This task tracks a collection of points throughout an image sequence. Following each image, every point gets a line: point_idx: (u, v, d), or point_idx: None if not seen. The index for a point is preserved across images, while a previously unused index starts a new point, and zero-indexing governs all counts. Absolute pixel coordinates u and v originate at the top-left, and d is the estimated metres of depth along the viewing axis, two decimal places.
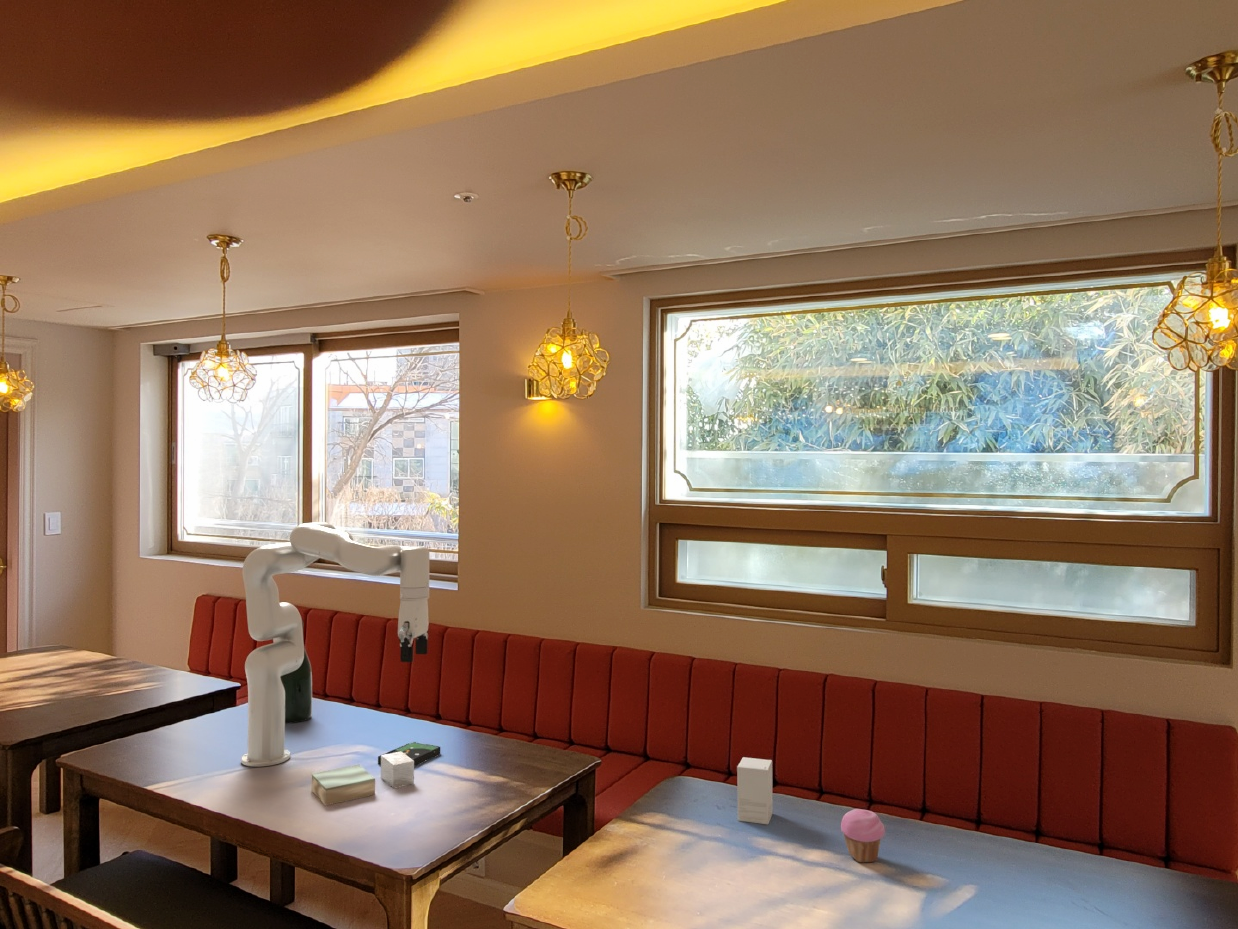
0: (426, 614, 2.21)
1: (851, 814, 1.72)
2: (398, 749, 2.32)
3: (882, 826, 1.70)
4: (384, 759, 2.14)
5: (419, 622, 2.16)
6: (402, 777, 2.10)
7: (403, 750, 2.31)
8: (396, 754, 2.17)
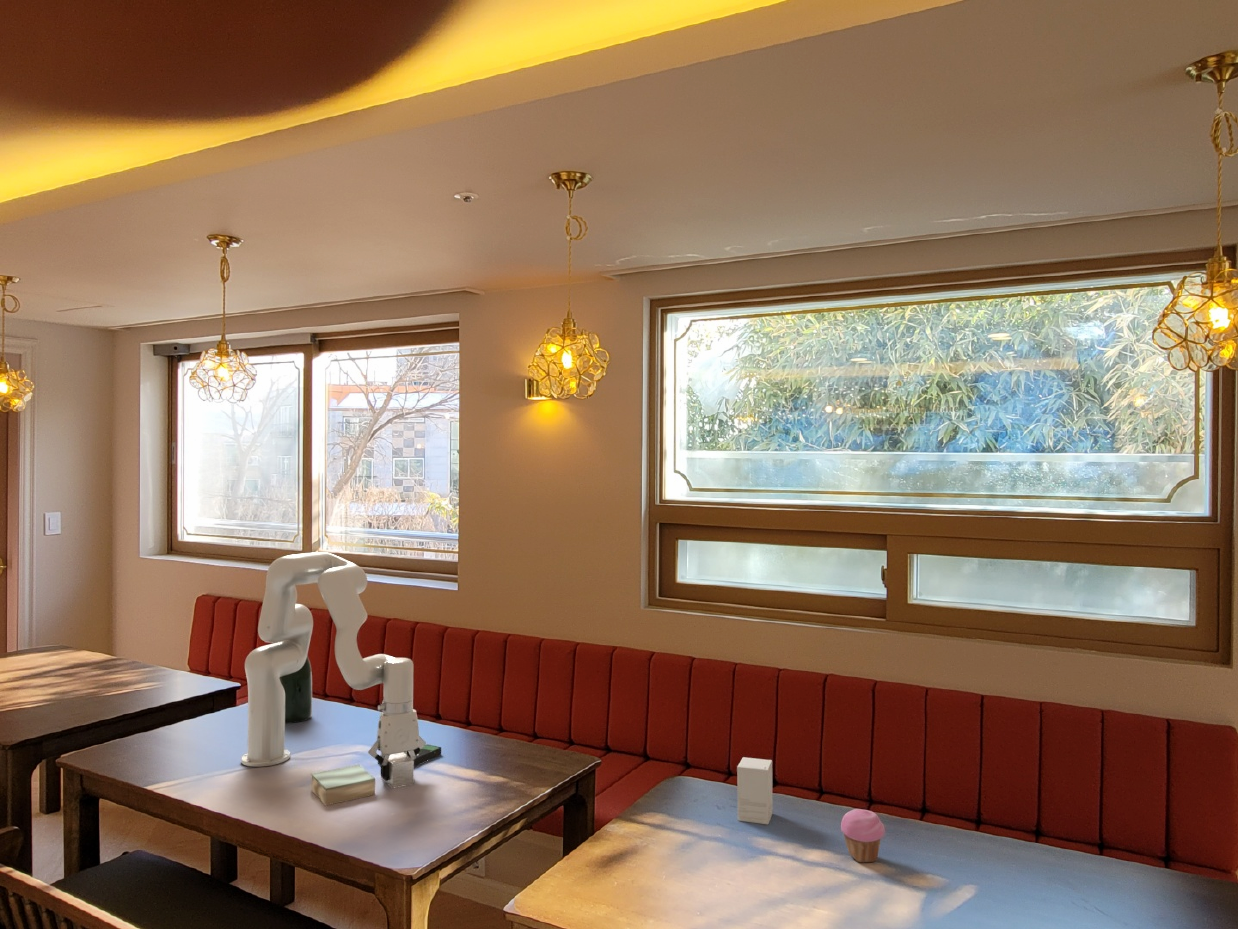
0: None
1: (851, 814, 1.72)
2: None
3: (882, 826, 1.70)
4: None
5: None
6: (401, 777, 2.10)
7: None
8: (396, 753, 2.17)
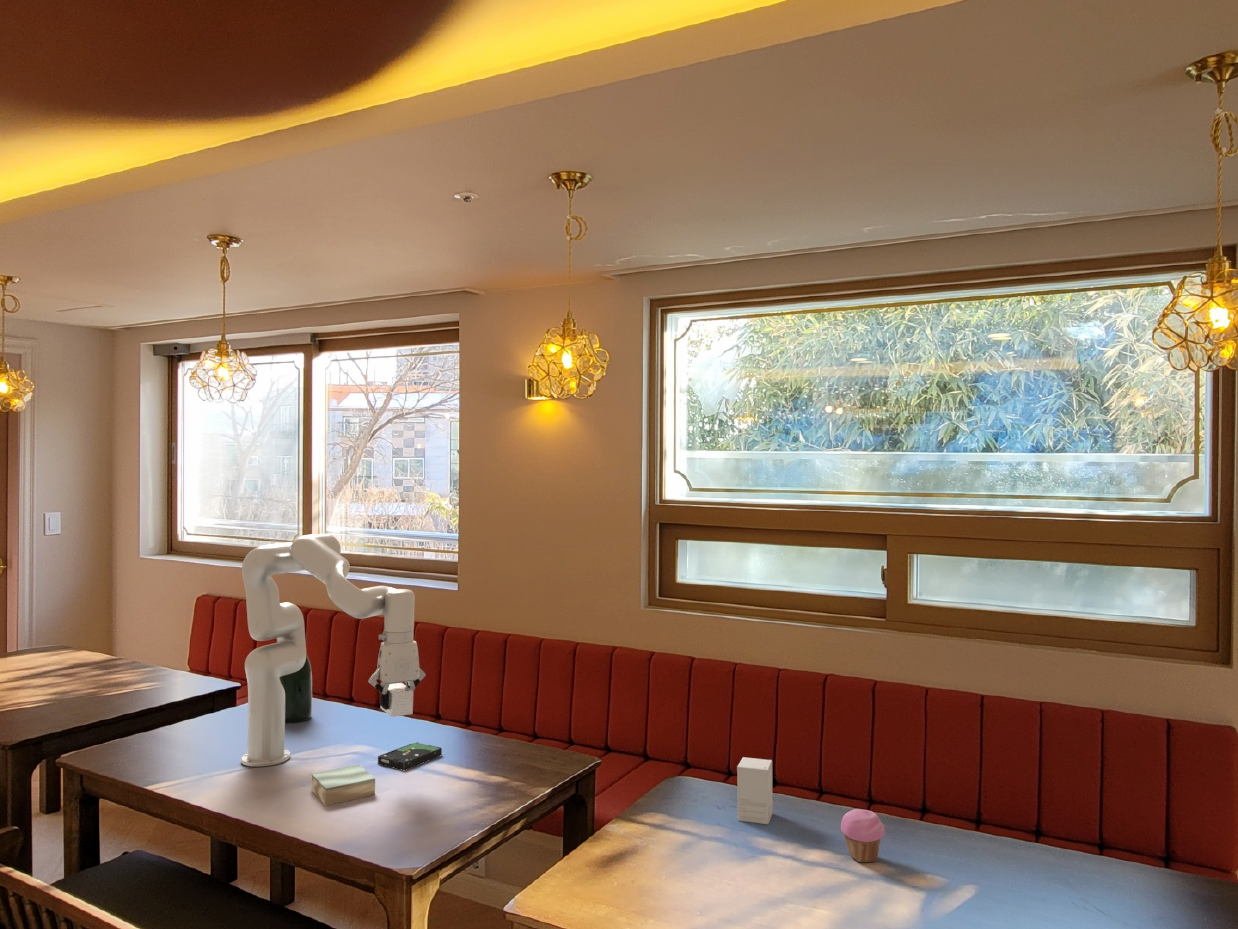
0: None
1: (851, 814, 1.72)
2: (399, 749, 2.32)
3: (882, 826, 1.70)
4: None
5: None
6: (401, 706, 2.11)
7: (404, 750, 2.31)
8: (396, 684, 2.18)
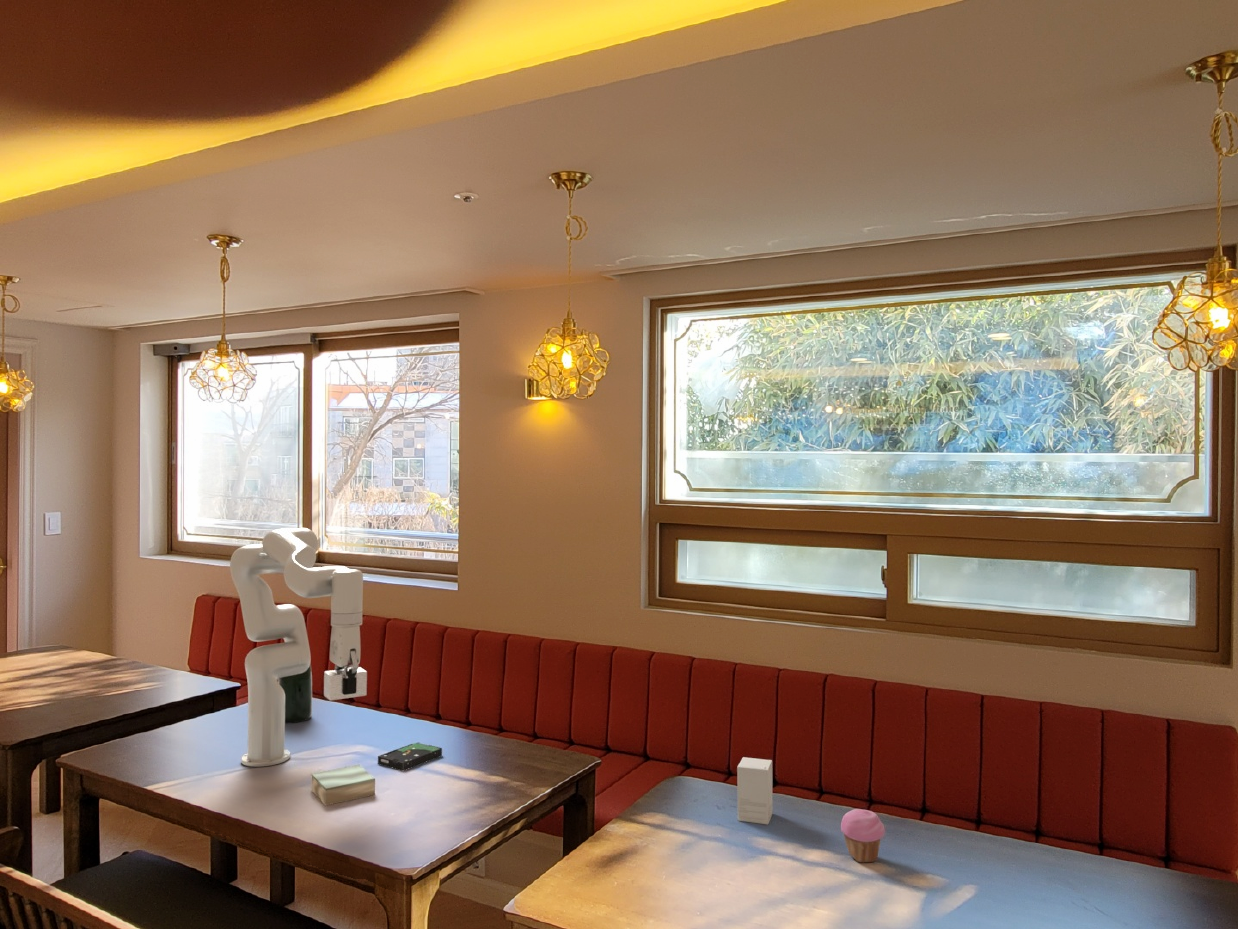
0: None
1: (851, 814, 1.72)
2: (400, 749, 2.32)
3: (882, 826, 1.70)
4: None
5: None
6: (326, 688, 2.04)
7: (404, 750, 2.31)
8: (359, 670, 2.08)
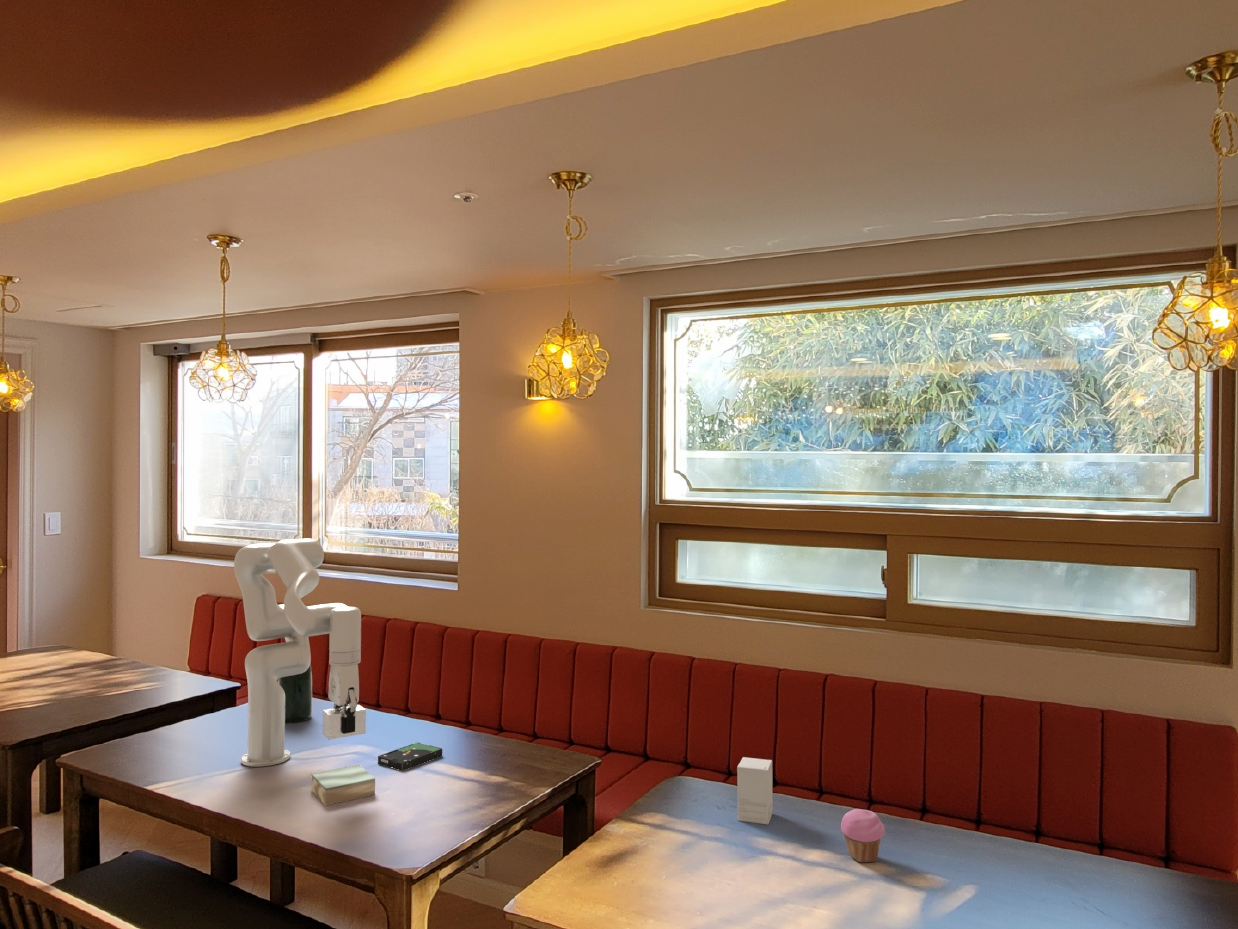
0: None
1: (851, 814, 1.72)
2: (400, 749, 2.32)
3: (882, 826, 1.70)
4: None
5: None
6: (325, 726, 2.04)
7: (405, 750, 2.31)
8: (358, 708, 2.07)
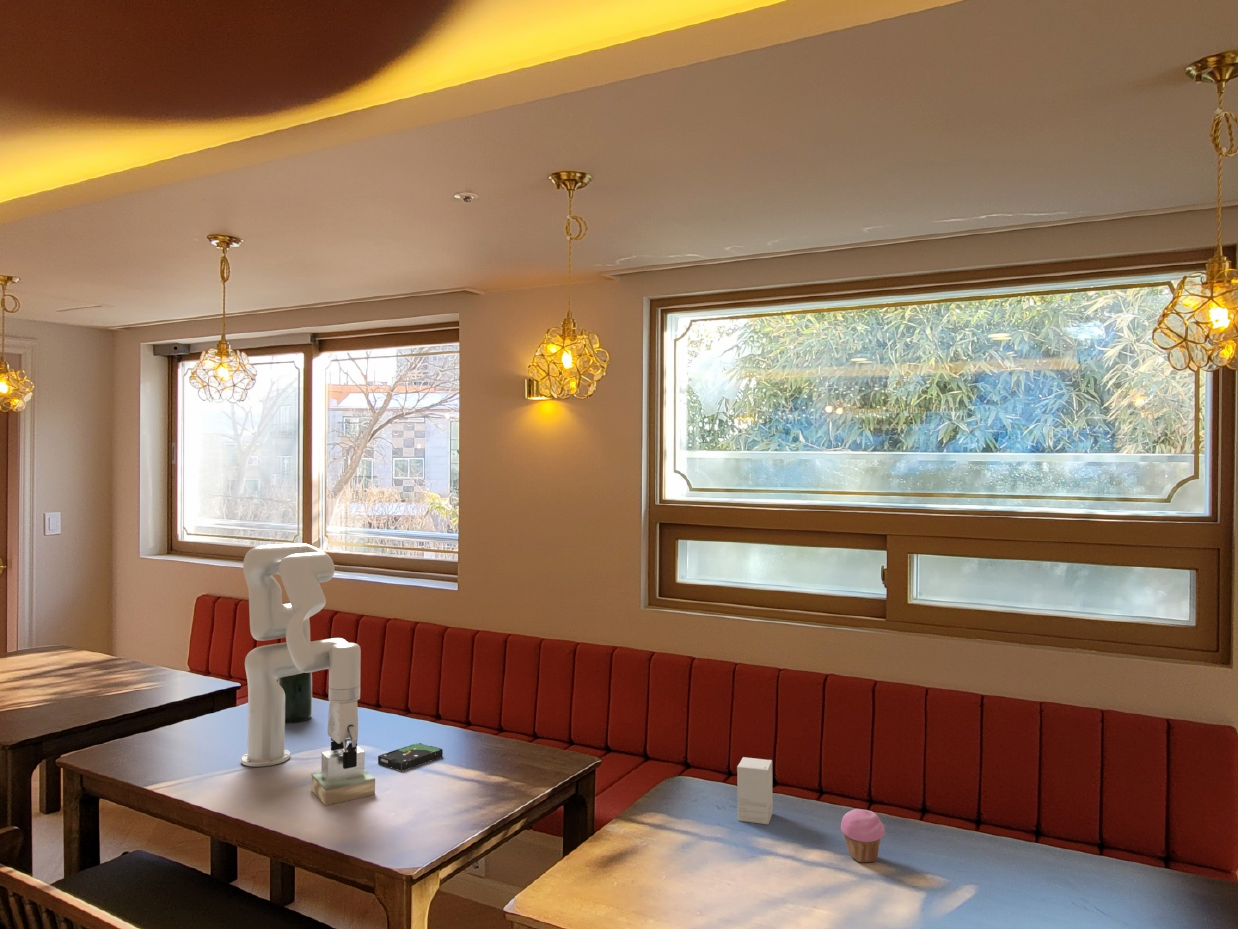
0: None
1: (851, 814, 1.72)
2: (401, 749, 2.32)
3: (882, 826, 1.70)
4: None
5: None
6: (324, 769, 2.03)
7: (405, 751, 2.31)
8: None
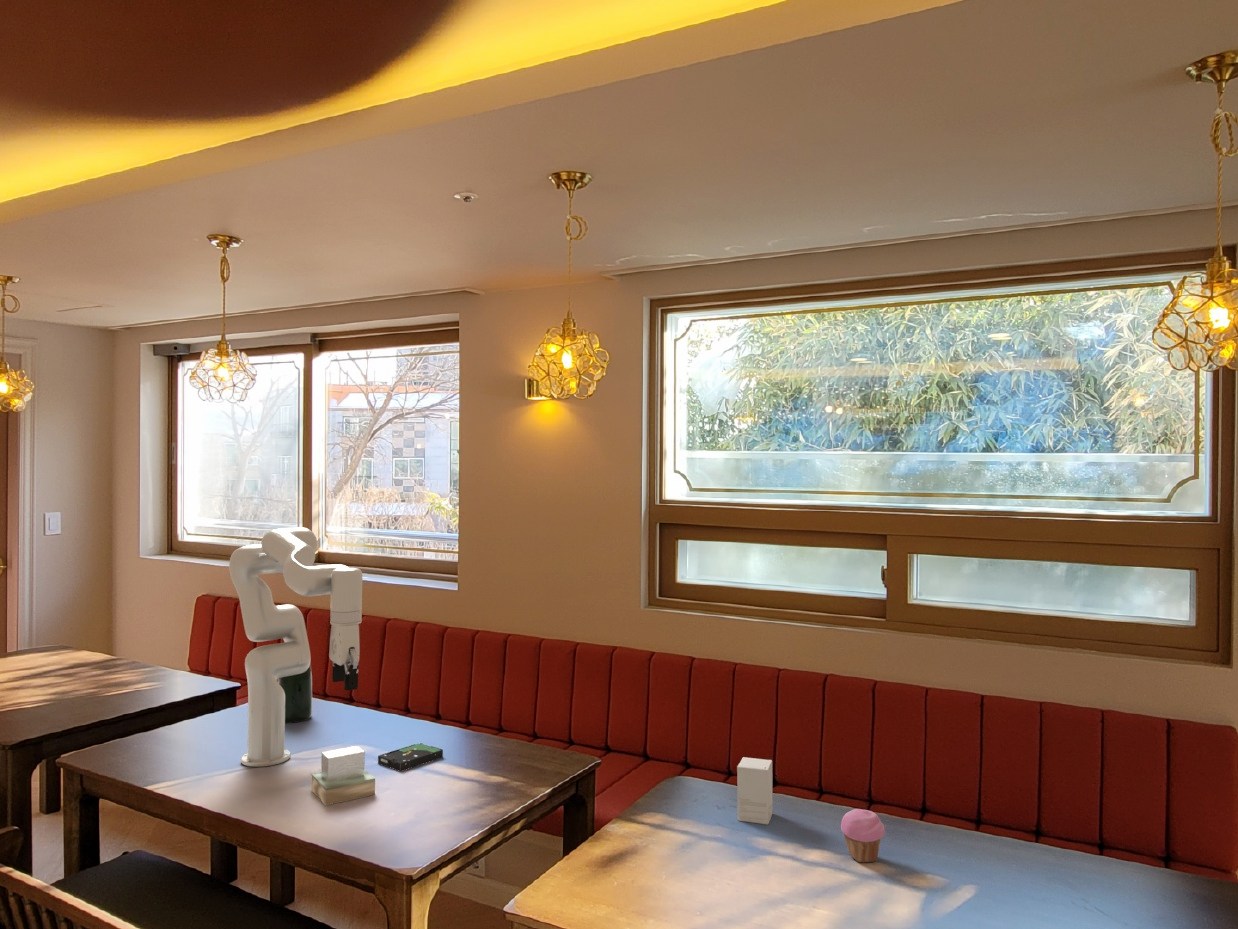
0: None
1: (851, 814, 1.72)
2: (401, 749, 2.32)
3: (882, 826, 1.70)
4: None
5: None
6: (324, 769, 2.03)
7: (405, 751, 2.31)
8: (356, 750, 2.07)
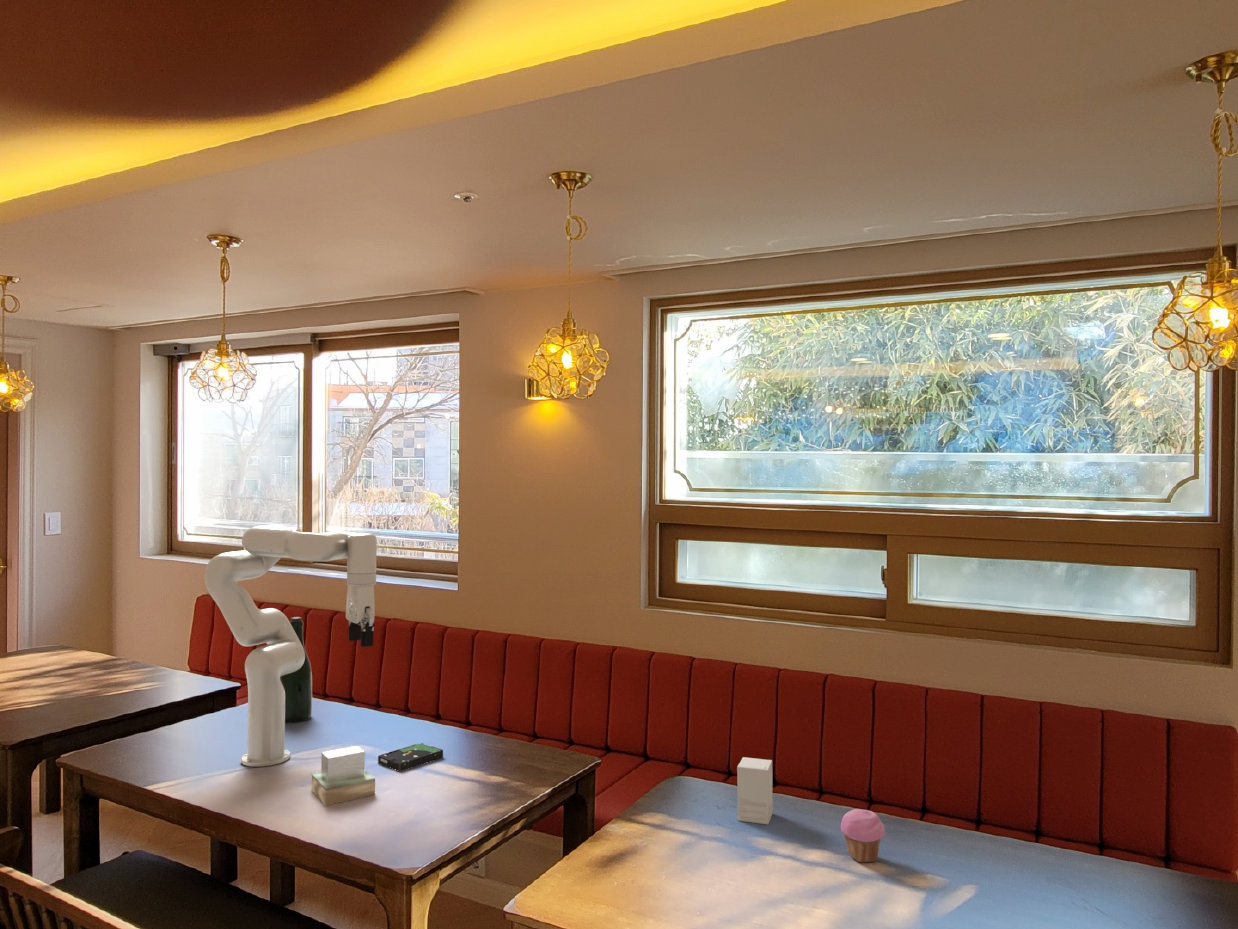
0: None
1: (851, 814, 1.72)
2: (402, 749, 2.32)
3: (882, 826, 1.70)
4: None
5: None
6: (324, 769, 2.03)
7: (406, 751, 2.31)
8: (356, 750, 2.07)
